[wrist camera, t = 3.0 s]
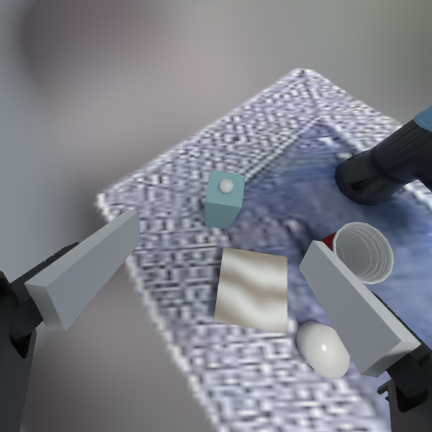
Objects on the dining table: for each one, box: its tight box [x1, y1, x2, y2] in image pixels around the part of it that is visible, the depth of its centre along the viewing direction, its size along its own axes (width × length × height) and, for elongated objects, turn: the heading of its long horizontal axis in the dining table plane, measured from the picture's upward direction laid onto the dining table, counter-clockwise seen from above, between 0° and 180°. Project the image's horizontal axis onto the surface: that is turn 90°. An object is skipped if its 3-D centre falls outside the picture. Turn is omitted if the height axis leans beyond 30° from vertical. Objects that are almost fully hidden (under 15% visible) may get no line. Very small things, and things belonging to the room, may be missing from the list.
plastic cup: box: [320, 222, 394, 284], centre depth 33 cm, size 11×11×12 cm
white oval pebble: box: [296, 320, 350, 379], centre depth 31 cm, size 8×8×4 cm
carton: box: [205, 170, 245, 230], centre depth 33 cm, size 6×6×16 cm
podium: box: [214, 247, 287, 333], centre depth 34 cm, size 14×14×4 cm
